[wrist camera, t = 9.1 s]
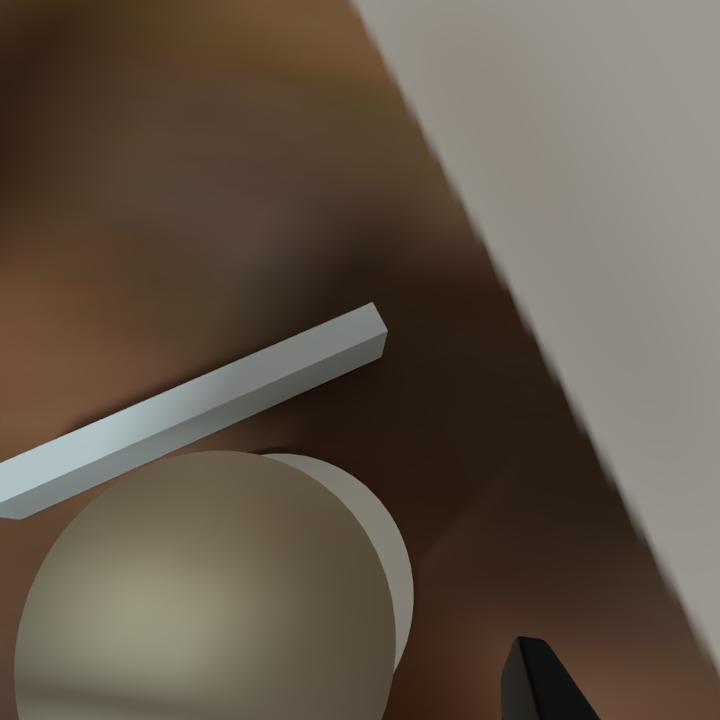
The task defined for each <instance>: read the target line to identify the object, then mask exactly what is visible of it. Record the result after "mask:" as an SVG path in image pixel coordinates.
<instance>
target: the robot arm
mask: <svg viewBox="0 0 720 720" xmlns="http://www.w3.org/2000/svg"><path fill="white" fill-rule="evenodd" d="M501 710H502V720H601V719H600V718H599V717H598V715H597V714H596V712H595V711H594V709H593V708H592V706H591V705H590V704H589V702H588V701H587V699H586V698H585V696H584V695H583V693H582V692H581V691H580V689H579V688H578V686H577V685H576V683H575V682H574V680H573V679H572V678H571V676H570V675H569V673H568V672H567V670H566V669H565V667H564V666H563V665H562V663H561V662H560V660H559V659H558V657H557V656H556V654H555V653H554V652H553V650H552V649H551V647H550V646H549V645H548V643H546V642H545V641H544V640H541V639H536V638H529V637H523V636H519V637H517V638H516V639H515V640H514V642H513V644H512V647H511V650H510V652H509V655H508V658H507V661H506V664H505V666H504V669H503V672H502V677H501Z"/></svg>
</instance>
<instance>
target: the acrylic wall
mask: <svg viewBox="0 0 720 720" xmlns="http://www.w3.org/2000/svg"><path fill="white" fill-rule="evenodd" d="M387 332H388V330H387V328H386V327H385V325H384V323H383V321H382V319H381V317H380V315H379V313H378V311H377V309H376V307H375V306H374V304H373V302H372V303H369V304H367V305H365V306H362V307H360V308H358V309H356V310H353V311H351V312H349V313H346V314H344V315H342V316H339V317H337V318H335V319H332V320H330V321H328V322H325V323H323V324H321V325H319V326H316V327H314V328H312V329H309V330H307V331H305V332H302V333H300V334H298V335H295V336H293V337H291V338H289V339H286V340H284V341H282V342H279V343H277V344H275V345H272V346H270V347H268V348H265V349H263V350H261V351H258V352H256V353H254V354H252V355H249V356H247V357H245V358H242V359H240V360H238V361H235V362H233V363H231V364H228V365H226V366H224V367H221V368H219V369H217V370H215V371H212V372H210V373H208V374H205V375H203V376H201V377H198V378H196V379H194V380H191V381H189V382H187V383H185V384H182V385H180V386H178V387H175V388H173V389H171V390H168V391H166V392H164V393H161V394H159V395H157V396H154V397H152V398H150V399H148V400H145V401H143V402H141V403H138V404H136V405H134V406H131V407H129V408H127V409H124V410H122V411H120V412H117V413H115V414H113V415H111V416H108V417H106V418H104V419H101V420H99V421H97V422H94V423H92V424H90V425H87V426H85V427H83V428H80V429H78V430H76V431H74V432H71V433H69V434H67V435H64V436H62V437H60V438H57V439H55V440H53V441H50V442H48V443H46V444H44V445H41V446H39V447H37V448H34V449H32V450H30V451H27V452H25V453H23V454H20V455H18V456H16V457H13V458H11V459H9V460H7V461H4V462H2V463H0V517H3V518H12V519H23V518H25V517H28V516H30V515H32V514H34V513H37V512H39V511H41V510H43V509H45V508H48V507H50V506H52V505H54V504H56V503H59V502H61V501H63V500H65V499H68V498H70V497H72V496H74V495H76V494H79V493H81V492H83V491H85V490H88V489H90V488H92V487H94V486H96V485H99V484H101V483H103V482H105V481H108V480H110V479H112V478H114V477H116V476H119V475H121V474H123V473H125V472H128V471H130V470H132V469H134V468H136V467H139V466H141V465H143V464H145V463H147V462H150V461H152V460H154V459H156V458H159V457H161V456H163V455H165V454H167V453H170V452H172V451H174V450H176V449H179V448H181V447H183V446H185V445H187V444H190V443H192V442H194V441H196V440H199V439H201V438H203V437H205V436H207V435H210V434H212V433H214V432H216V431H218V430H221V429H223V428H225V427H227V426H230V425H232V424H234V423H236V422H238V421H241V420H243V419H245V418H247V417H250V416H252V415H254V414H256V413H258V412H261V411H263V410H265V409H267V408H270V407H272V406H274V405H276V404H278V403H281V402H283V401H285V400H287V399H290V398H292V397H294V396H296V395H298V394H301V393H303V392H305V391H307V390H309V389H312V388H314V387H316V386H318V385H321V384H323V383H325V382H327V381H329V380H332V379H334V378H336V377H338V376H341V375H343V374H345V373H347V372H349V371H352V370H354V369H356V368H358V367H361V366H363V365H365V364H367V363H369V362H372V361H374V360H376V359H378V358H381V356H382V352H383V348H384V344H385V340H386V336H387Z"/></svg>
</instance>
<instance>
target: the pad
mask: <svg viewBox="0 0 720 720" xmlns="http://www.w3.org/2000/svg"><path fill="white" fill-rule="evenodd" d="M261 456H265V457H268V458H272V459H275V460H278V461H281V462H283V463H285V464H288V465H290V466H292V467H294V468H297V469H299V470H301V471H302V472H304V473H306V474H307V475H309V476H310V477H312V478H314V479H315V480H317V481H319V482H320V483H321V484H322V485H323V486H325V487H326V488H327V489H328V490H330V491H331V492H332V493H333V494H335V495H336V496H337V497H338V498H339V499H340V500H341V501H342V503H343V504H344V505H345V506H346V507H347V508H348V509H349V510H350V511H351V512H352V513H353V515H354V516H355V517H356V519H357V520H358V522H359V523H360V524H361V526H362V527H363V529H364V530H365V531H366V533H367V535H368V537H369V539H370V540H371V542H372V544H373V546H374V548H375V550H376V551H377V554H378V556H379V559H380V561H381V564H382V566H383V569H384V571H385V574H386V577H387V581H388V585H389V589H390V593H391V597H392V602H393V610H394V617H395V625H396V654H395V663H394V671H395V669H396V667H397V665H398V664H399V662H400V659H401V657H402V654H403V651H404V648H405V646H406V643H407V640H408V635H409V631H410V627H411V622H412V613H413V603H414V600H413V578H412V571H411V564H410V561H409V557H408V553H407V550H406V546H405V544H404V541H403V539H402V536H401V534H400V531H399V529H398V527H397V526H396V524H395V522H394V520H393V519H392V517H391V515H390V513H389V512H388V511H387V509H386V508H385V507H384V505H383V504H382V503H381V501H380V500H379V499H378V498H377V497H376V496H375V495H374V494H373V493H372V492H371V491H370V490H369V489H368V488H367V487H366V486H365V485H364V484H362V483H361V482H360V481H359V480H357V479H356V478H355V477H354V476H352V475H350V474H349V473H347V472H345V471H344V470H342V469H340V468H338V467H336V466H334V465H331V464H329V463H327V462H325V461H322V460H318V459H315V458H311V457H308V456H301V455H294V454H266V455H261ZM393 673H394V672H393Z"/></svg>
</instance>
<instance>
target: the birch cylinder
mask: <svg viewBox="0 0 720 720" xmlns="http://www.w3.org/2000/svg"><path fill="white" fill-rule="evenodd" d="M395 654H396V625H395V617H394V610H393V602H392V597H391V593H390V589H389V585H388V581H387V577H386V574H385V571H384V569H383V566H382V564H381V561H380V559H379V556H378V554H377V551H376V550H375V548H374V546H373V544H372V542H371V540H370V539H369V537H368V535H367V533H366V531H365V530H364V529H363V527H362V526H361V524H360V523H359V522H358V520H357V519H356V517H355V516H354V515H353V513H352V512H351V511H350V510H349V509H348V508H347V507H346V506H345V505H344V504H343V503H342V501H341V500H340V499H339V498H338V497H337V496H336V495H335V494H333V493H332V492H331V491H330V490H328V489H327V488H326V487H325V486H323V485H322V484H321V483H320V482H319V481H317V480H315V479H314V478H312V477H310V476H309V475H307V474H306V473H304V472H302V471H301V470H299V469H297V468H294V467H292V466H290V465H288V464H285V463H283V462H281V461H278V460H275V459H272V458H268V457H265V456H261V455H258V454H252V453H245V452H238V451H204V452H195V453H188V454H184V455H180V456H175V457H171V458H167V459H164V460H162V461H159V462H156V463H154V464H151V465H148V466H146V467H143V468H142V469H140V470H138V471H136V472H134V473H132V474H130V475H128V476H126V477H124V478H122V479H121V480H120V481H118V482H117V483H115V484H114V485H112V486H111V487H109V488H108V489H106V490H105V491H103V492H102V493H101V494H100V495H99V496H98V497H96V498H95V499H94V500H93V501H92V502H91V503H89V504H88V505H87V506H86V507H85V508H84V509H83V510H82V511H81V512H80V513H79V514H78V515H77V516H76V517H75V519H74V520H73V521H72V522H71V523H70V524H69V525H68V526H67V527H66V529H65V530H64V531H63V533H62V534H61V535H60V537H59V538H58V540H57V541H56V542H55V544H54V545H53V547H52V548H51V549H50V551H49V553H48V555H47V556H46V558H45V560H44V562H43V564H42V565H41V567H40V569H39V571H38V573H37V575H36V577H35V580H34V582H33V584H32V587H31V589H30V592H29V594H28V596H27V600H26V603H25V606H24V610H23V613H22V617H21V620H20V624H19V630H18V636H17V642H16V648H15V666H14V684H15V696H16V707H17V711H18V716H19V720H381V719H382V716H383V714H384V711H385V708H386V705H387V701H388V697H389V693H390V688H391V684H392V680H393V672H394V663H395Z"/></svg>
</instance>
